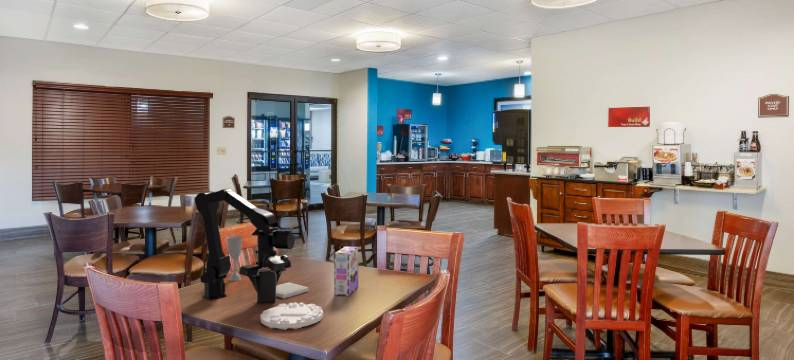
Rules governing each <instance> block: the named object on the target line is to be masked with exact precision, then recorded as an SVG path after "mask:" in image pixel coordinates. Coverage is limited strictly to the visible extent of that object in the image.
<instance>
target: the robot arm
mask: <svg viewBox="0 0 794 360" xmlns="http://www.w3.org/2000/svg"><path fill="white" fill-rule="evenodd" d="M221 202H225V203H226V204H228V205H229V206H231V207H232V208H234V209H235V210H237V211H238V212H239V213H241V214H242V215H243V216H245V217H247V218H248V220H249V221H250V223H251V224H252V226H253V227H255V228H256V229H255V230H254V231H253V232H252V233H251V235H252V236H255V237H256V236H257V237H256V238H257V239H256V243H257V247H256V248H257V249H256V250H255V253H254V254H257V261H255V265H251V264H246V265H242V266H240V267H239V269H238V271H239V273H238V274H239V275H240V276H244V277H245V276H246V277H248V278H249V280H250V283H251V284H252V286H253V288H254V290H255V293H256V294H257V293H259V278H260V276H261V275H259V271H261V270H271V271H273V272H276V286H277V285H278V283H279V279H280V277H281V275H282V273H284V272H285V271H287V269H289V268H292V261H291V260H290V259H289V257H288V255H286V254H284V255H279V256H278V253H277V249H280V250H292V249H293V248H294V246H295V242H296V240H295V239H296V238H295V235H294V234H293V232H292V230H291V229H286V230H285V229H283V228H282V227H281V225H280V224H279V222H278V221H277V219H276V215H275V214H274V213H272V212H270V211H268V210H266V209H263V208H259V207H257V206H255V205H253V204H252V203H251V202H249V200H246V199H245V198H243V197H242V196H240V195H239V194H237V193H236V192H235V191H234V190H233V189H232V188H223V189H221V190H217V191H203V192H199V193H197V194H196V196H195V197H194V203H195V206H196V210H197V212H198V213H199V215H201V217H202V221H203V227H204V233H205V239H206V246H207V250H208V251H207V253H208V256H207V260H206V264H205V265H206V267H205V269H206V270H205V271H204V272H203V274H202V275H201V276H200V279H199V280H200V282H201V283H202V284H204V285H203V286H204V294H202V298H205V299H208V300H210V301H211V300H212V301H213V300H217V299H219V298H223V297H227V294H226V283H225V279H226V278H227V276H228V274H229V272H230V271H231V267H232V263H231V259H230V258H231V256H230V255H229V254H228V255H226V254H225V253H224V251H223V245H222V240H221V233H220V228H219V222H218V216H217V215H218V210H219V207H220V203H221ZM275 249H276V250H275Z"/></svg>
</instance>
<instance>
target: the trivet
mask: <svg viewBox="0 0 794 360" xmlns="http://www.w3.org/2000/svg"><path fill="white" fill-rule="evenodd" d="M307 292H309V287H307V286H305V285H300V284H297V283H294V282H285V283H281V284H277V286H276V298H277V297H278V298H280V299H286V298H291V297H294V296H297V295H300V294H304V293H307Z"/></svg>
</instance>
